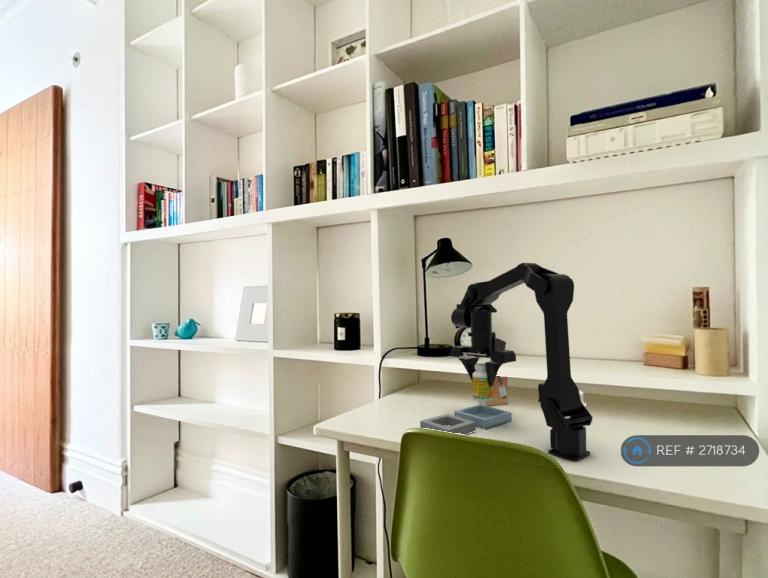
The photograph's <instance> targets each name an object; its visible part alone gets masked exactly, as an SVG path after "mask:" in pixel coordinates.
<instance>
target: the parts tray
mask: <svg viewBox="0 0 768 578" xmlns="http://www.w3.org/2000/svg"><path fill="white" fill-rule="evenodd" d="M512 415H513V414H512V412H511V411H508V410H504V409H500V408H495V407H492V406H485V405H483V404H476V405H472V406H468V407H465V408H461V409H458V410H454V416H456V417H460V418H463V419H466V420H470V421H473V422H475V427H476V426H477V428H479V427H481V428H480V429H482V428H485V429H484V430H489V429H491V428H496V427H498V426H501V425H505V424H507V423H511V422H512V419H513V418H512ZM495 426H496V427H495ZM488 428H489V429H488Z"/></svg>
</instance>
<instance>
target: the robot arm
mask: <svg viewBox="0 0 768 578" xmlns="http://www.w3.org/2000/svg"><path fill="white" fill-rule="evenodd" d="M523 284H525V286H526V287H527V288H529V289H530V290H531V291H533V292H534V297H535V301H536V304H537V305H538V306H539V308H540V310H541V311H542V313H543V320H544V321H543V322H544V323H543V324H544V339H545V340H544V341H545V357H546V359H545V361H546V374H547V375H546V379H545V381H544V383H543V382H542V383H539V384H538V386H537V390H538V400H537V402H538V403H540V409H541V411H542V413H543V417H544V420H545V424H546V426H547V427H549V428H551V429H550V430H549V433H550V435H549V437H550V439H549V440H550V444H549V445H550V449H549V450H548V453H549V454H550V455H553V456H554V455H555V456H558V457H562V458H564V459H568V460H571V461H573V462H577V461H579V460H582V459H583V458H585V457H588V456H590V455H591V451H589V450H587V427H589V426H591V424H592V421H593V415H592V414H591V413H590V412H589V411H588V408H587V407H586V408H585V406H584V405H583V404H582V402H581V399H580V394H579V391H580V390H579V387H578V386H577V385H576V382H575V381H574V380H573V378H572V373H571V372H572V371H571V356H570V338H569V337H570V336H569V321H568V320H569V319H568V312H569V310H570V308H571V306H572V303H573V301H574V295H575V294H574V292H575V282H574V279H573V278H571V277H570V276H569V275H567V274H563V273H558V272H555V271H553V270H551V269H548V268H545V267H542V266H541V265H539V264H537V263H535V262H521V263H519V264H517V266H515V267H513V268H511V269H509V270H508V271H507V270H506V271H505V272H503V273H502V274H500V275H497V276H496V277H494V278H492V279H490V280H485V281H479V282H475V283H471V284H469V285H468V286H467V288H466V291H465V293H464V296H463V298H462V300H461V301H460V303H456V305H455V306H456V308H455V309H453V311H452V313H451V315H450V320H451V323H452V324H453V325H454V326H455V327H460V328H468V329H469V328H470V332H468V333H467V337H470V341H471V343H470V345H456V346H452V348H451V349H450V356H451V357H454V358H458V361H460V362H461V364H462V365H463V367H464V369H465V371H466V372H467V374H468V376H469V379H470V380H471V382H472V383H473V373H474V372H475V371H476V370H475V364H478V363H479V360H480V358H485V359H489V361H486V362H484V363H485V367H486V373H487V379H488V384H489V387H491V386H493V384H494V381H495V378H496V375H497V372H498V370H499V369H501V367H502V365H504V364H507V363H508V364H509V363H513V362H517V355H516V353H515V351H514V350H510V349H509V350H508V349H506V346H507V342H506V341H505V340H502V339H501V338H497V335H496V332H495V331H493V323H492V320H493V319H492V317H493V316H492V314H494V313H497V312H498V310H497V309H496V307H494V306H493V305H492V303H494V302H496V301H497V300H498V299H499V298H500V295H502V294H504V293H505V292H507V291H509V290H512V289H514V288H516V287H518V286H521V285H523ZM567 416H570V418H567ZM565 417H566V418H565Z"/></svg>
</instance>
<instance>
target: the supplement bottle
mask: <svg viewBox="0 0 768 578" xmlns="http://www.w3.org/2000/svg"><path fill="white" fill-rule="evenodd" d="M475 370H476V371H475V372H474V373H473V382H472V399H473V400H474V401H477V402H478V401H491V400H492V399H493V388H492V386H491V387H489V384H488V379H487V373H486V367H485V362H484V363H483V362H481V363H479V362H477V364H475Z"/></svg>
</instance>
